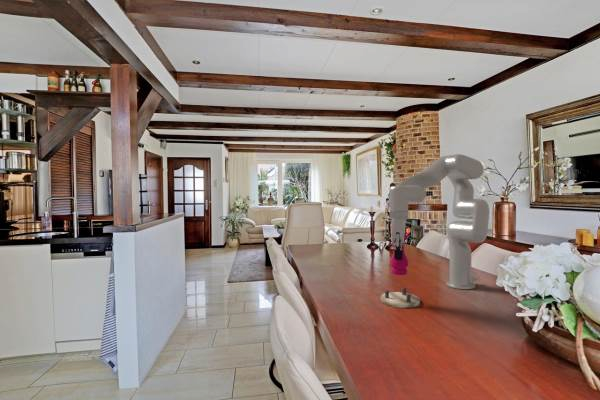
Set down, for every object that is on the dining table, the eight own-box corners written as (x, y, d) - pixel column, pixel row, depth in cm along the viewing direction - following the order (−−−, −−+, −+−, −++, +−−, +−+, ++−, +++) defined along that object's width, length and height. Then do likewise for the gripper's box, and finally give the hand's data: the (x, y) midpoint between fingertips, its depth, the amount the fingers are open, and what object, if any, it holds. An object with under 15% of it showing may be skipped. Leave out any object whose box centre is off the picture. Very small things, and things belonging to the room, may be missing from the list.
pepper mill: (409, 275, 131) (409, 227, 130) (391, 275, 132) (390, 226, 132) (407, 271, 138) (406, 225, 137) (389, 271, 139) (389, 225, 139)
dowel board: (402, 293, 146) (402, 283, 146) (428, 304, 131) (428, 293, 131) (372, 298, 140) (372, 288, 139) (397, 310, 125) (397, 299, 125)
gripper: (391, 213, 144) (392, 253, 144) (387, 216, 128) (387, 261, 128) (409, 214, 141) (409, 254, 141) (406, 216, 125) (407, 262, 125)
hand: (399, 257), depth 135 cm, fingers closed on pepper mill, 5 cm apart
